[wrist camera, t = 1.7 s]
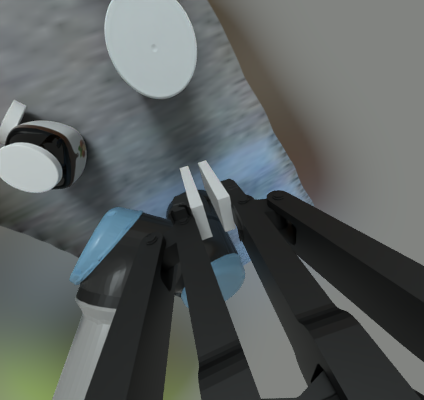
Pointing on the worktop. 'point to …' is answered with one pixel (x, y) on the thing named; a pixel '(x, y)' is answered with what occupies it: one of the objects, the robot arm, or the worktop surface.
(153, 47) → the supplement tub
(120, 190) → the worktop surface
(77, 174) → the spread jar
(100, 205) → the worktop surface
